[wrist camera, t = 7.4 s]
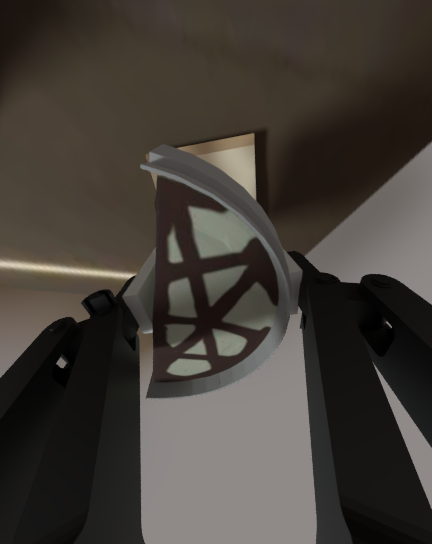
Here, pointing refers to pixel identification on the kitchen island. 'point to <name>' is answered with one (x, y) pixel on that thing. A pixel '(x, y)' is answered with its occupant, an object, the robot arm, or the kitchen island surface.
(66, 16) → the kitchen island surface
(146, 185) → the kitchen island surface
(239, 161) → the board
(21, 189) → the kitchen island surface
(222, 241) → the food container
